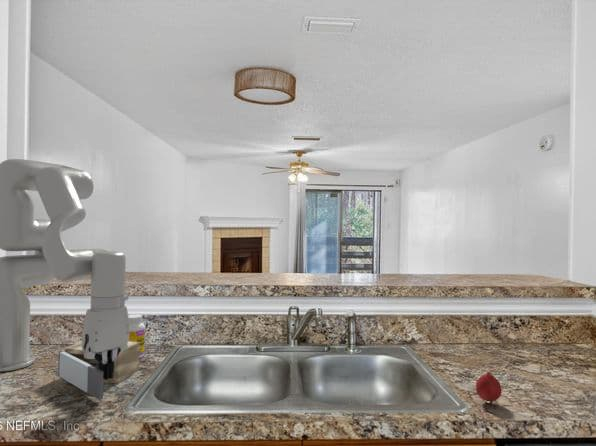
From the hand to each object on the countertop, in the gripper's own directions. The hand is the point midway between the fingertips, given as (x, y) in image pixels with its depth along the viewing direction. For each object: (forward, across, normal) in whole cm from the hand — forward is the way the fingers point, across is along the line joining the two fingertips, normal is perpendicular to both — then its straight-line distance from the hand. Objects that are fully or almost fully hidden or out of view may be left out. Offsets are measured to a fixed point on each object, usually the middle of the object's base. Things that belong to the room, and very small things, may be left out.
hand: (105, 377), depth 101 cm
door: (+4, +2, -9) cm, 9 cm away
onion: (+5, -52, +78) cm, 94 cm away
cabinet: (+5, -8, -14) cm, 17 cm away
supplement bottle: (+5, -22, -20) cm, 30 cm away
